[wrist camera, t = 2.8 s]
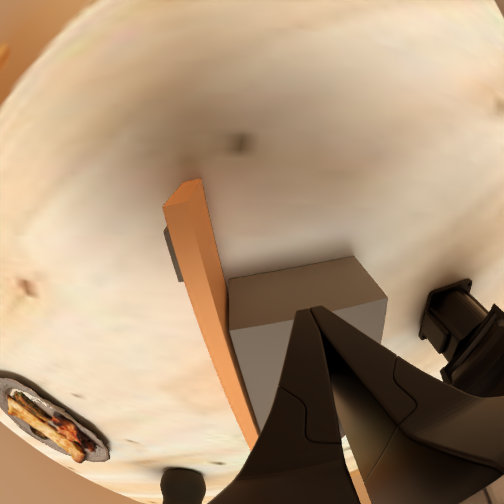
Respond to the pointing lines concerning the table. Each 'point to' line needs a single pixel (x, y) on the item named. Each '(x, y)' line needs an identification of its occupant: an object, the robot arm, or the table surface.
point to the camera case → (282, 316)
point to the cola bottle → (182, 487)
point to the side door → (207, 293)
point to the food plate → (50, 424)
